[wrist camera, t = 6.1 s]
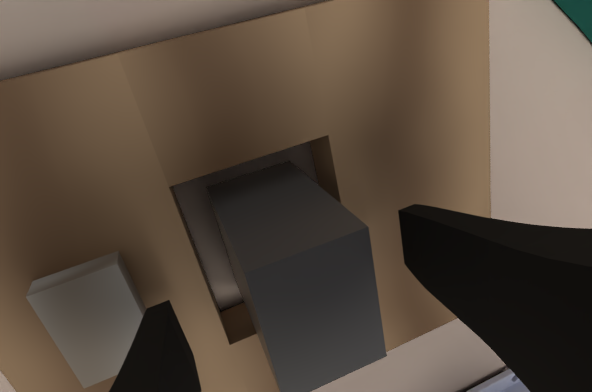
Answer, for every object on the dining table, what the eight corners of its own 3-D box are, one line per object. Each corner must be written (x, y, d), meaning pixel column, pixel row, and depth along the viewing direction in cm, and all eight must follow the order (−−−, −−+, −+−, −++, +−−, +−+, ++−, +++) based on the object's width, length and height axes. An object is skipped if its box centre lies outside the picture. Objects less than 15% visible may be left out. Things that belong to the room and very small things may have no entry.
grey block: (289, 160, 15) (368, 226, 10) (310, 257, 17) (386, 356, 12) (205, 187, 14) (244, 273, 9) (237, 285, 16) (284, 403, 11)
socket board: (446, -29, 15) (508, -42, 12) (461, 279, 21) (504, 312, 18) (-129, 112, 11) (-208, 134, 8) (96, 444, 17) (89, 515, 14)
